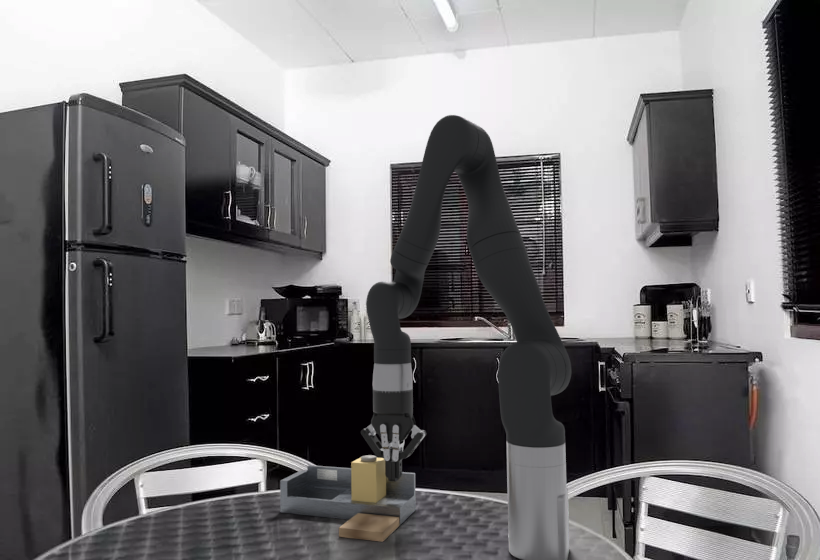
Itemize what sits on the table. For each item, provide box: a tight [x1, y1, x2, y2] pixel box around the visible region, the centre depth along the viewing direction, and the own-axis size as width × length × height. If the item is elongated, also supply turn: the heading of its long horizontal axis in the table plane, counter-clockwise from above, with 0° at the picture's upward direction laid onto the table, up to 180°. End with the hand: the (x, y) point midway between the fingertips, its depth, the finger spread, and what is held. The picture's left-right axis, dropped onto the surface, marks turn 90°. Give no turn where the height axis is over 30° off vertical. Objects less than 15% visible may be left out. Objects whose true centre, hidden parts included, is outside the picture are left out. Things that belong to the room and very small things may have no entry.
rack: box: [279, 464, 417, 526], centre depth 117 cm, size 24×9×7 cm, turn 71°
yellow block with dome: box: [350, 454, 386, 503], centre depth 115 cm, size 5×5×8 cm
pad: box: [338, 513, 400, 542], centre depth 106 cm, size 8×8×2 cm
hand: (393, 480), depth 114 cm, fingers closed
